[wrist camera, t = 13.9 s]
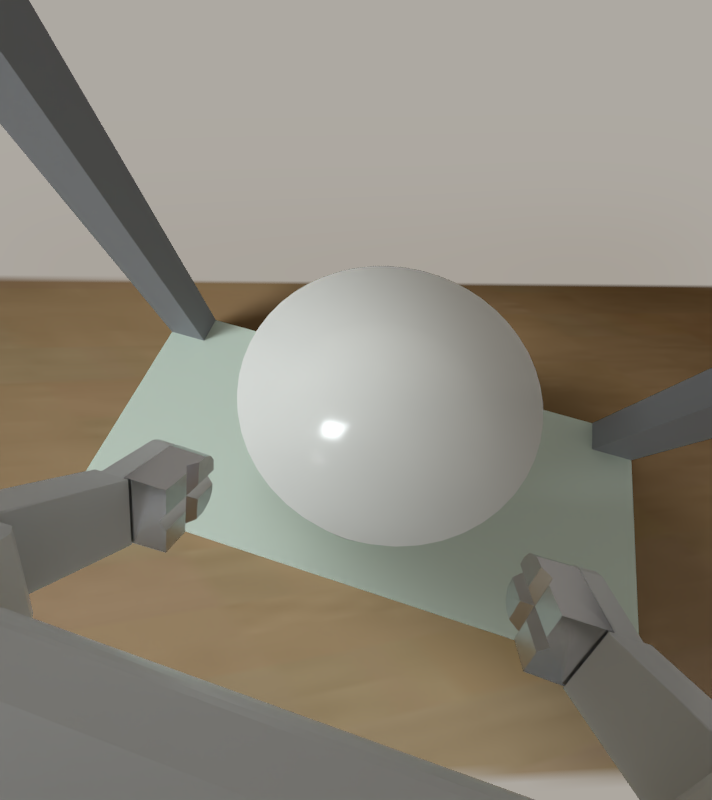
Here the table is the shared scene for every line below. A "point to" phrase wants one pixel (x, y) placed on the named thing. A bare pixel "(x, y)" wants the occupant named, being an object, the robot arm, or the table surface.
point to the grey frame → (218, 381)
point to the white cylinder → (390, 406)
